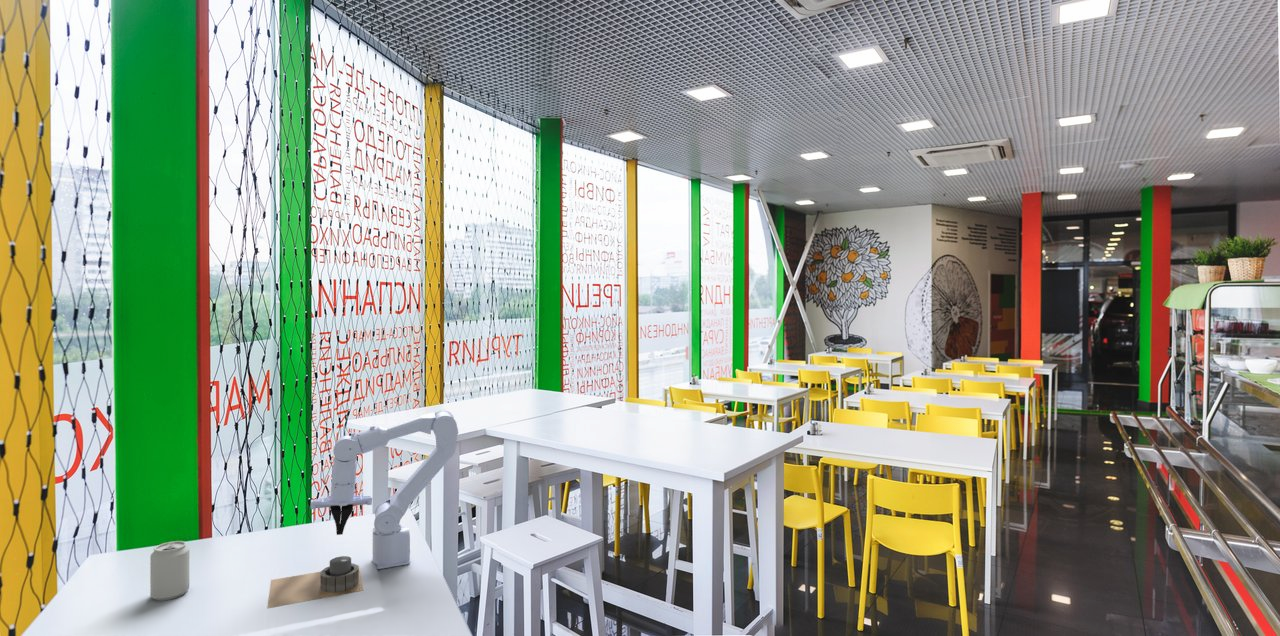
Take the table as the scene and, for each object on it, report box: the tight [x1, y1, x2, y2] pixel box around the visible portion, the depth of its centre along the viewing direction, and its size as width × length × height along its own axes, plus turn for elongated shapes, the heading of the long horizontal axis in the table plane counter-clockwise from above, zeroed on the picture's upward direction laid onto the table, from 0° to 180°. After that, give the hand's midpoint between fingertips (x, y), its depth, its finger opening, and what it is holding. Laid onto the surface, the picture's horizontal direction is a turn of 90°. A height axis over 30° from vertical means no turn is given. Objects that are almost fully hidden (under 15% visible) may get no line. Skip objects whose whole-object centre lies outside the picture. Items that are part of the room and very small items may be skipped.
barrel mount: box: [267, 562, 364, 609], centre depth 152 cm, size 20×16×4 cm
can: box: [149, 540, 190, 601], centre depth 148 cm, size 8×8×12 cm
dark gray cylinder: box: [329, 555, 352, 576], centre depth 153 cm, size 5×5×6 cm
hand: (339, 533), depth 163 cm, fingers closed
